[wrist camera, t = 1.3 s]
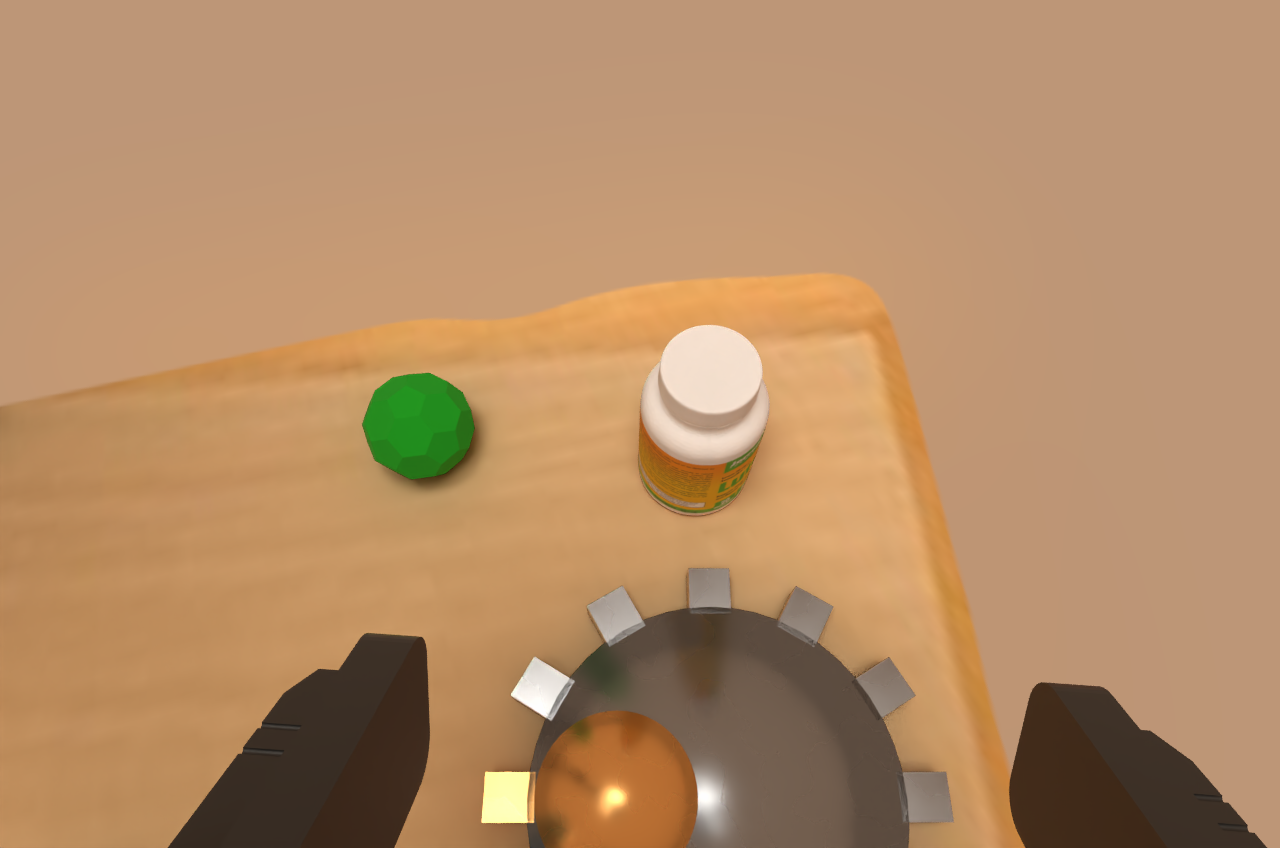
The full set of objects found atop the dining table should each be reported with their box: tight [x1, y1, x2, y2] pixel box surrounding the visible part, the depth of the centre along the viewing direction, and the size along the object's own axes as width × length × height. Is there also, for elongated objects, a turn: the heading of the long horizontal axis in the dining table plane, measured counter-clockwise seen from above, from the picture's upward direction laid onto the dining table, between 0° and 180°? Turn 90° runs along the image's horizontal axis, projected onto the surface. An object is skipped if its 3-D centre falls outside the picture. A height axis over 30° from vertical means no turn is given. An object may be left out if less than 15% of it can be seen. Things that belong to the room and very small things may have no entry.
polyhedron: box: [362, 373, 475, 479], centre depth 37 cm, size 5×5×5 cm
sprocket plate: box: [482, 568, 954, 848], centre depth 32 cm, size 18×18×2 cm
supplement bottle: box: [638, 325, 769, 516], centre depth 35 cm, size 5×5×10 cm
